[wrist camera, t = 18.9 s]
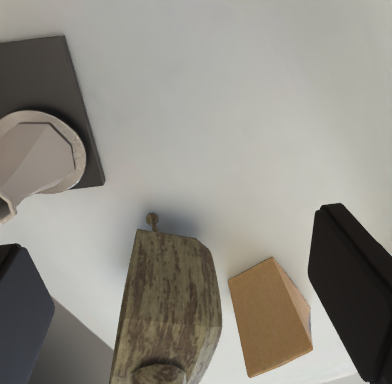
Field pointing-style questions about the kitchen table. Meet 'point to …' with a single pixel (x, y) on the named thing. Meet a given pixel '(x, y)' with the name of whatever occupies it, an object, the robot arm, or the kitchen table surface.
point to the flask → (30, 164)
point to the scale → (48, 92)
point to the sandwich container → (270, 317)
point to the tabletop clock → (167, 311)
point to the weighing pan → (63, 130)
